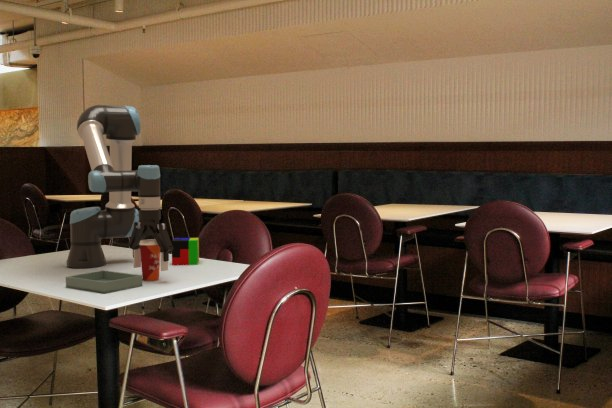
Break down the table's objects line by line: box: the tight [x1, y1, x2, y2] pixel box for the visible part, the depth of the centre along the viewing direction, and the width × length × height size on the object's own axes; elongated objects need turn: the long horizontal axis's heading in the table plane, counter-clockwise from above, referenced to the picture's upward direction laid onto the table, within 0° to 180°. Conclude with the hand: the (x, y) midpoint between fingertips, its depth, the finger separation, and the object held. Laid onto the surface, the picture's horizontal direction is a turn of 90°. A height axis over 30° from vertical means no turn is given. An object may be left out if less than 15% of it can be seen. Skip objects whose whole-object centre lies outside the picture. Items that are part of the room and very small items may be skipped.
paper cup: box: [139, 238, 161, 282], centre depth 241 cm, size 8×8×14 cm
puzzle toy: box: [171, 237, 200, 266], centre depth 278 cm, size 10×10×10 cm
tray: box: [65, 270, 143, 294], centre depth 228 cm, size 20×16×4 cm
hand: (150, 269), depth 241 cm, fingers open, 13 cm apart
